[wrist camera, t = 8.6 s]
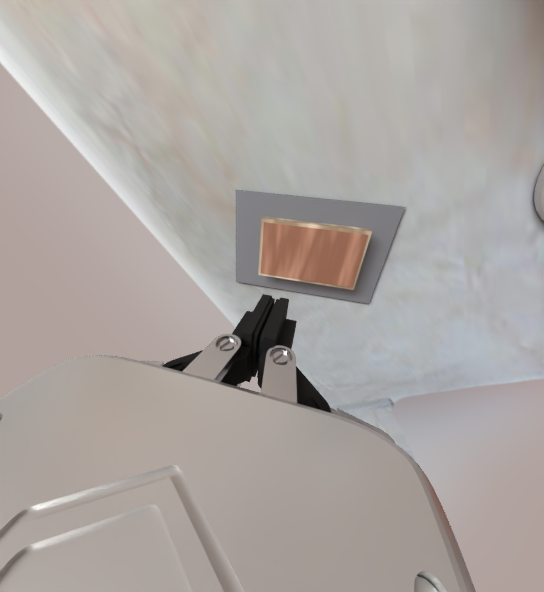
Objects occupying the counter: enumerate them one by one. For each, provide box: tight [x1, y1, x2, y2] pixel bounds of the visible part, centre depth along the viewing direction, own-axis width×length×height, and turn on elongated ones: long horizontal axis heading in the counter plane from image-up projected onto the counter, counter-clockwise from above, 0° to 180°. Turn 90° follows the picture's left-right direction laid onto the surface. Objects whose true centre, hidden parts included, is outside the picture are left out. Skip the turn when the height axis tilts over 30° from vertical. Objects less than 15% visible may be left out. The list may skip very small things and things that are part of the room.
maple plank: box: [258, 217, 372, 290], centre depth 28 cm, size 3×8×14 cm
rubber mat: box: [236, 190, 405, 304], centre depth 29 cm, size 22×14×1 cm, turn 85°
